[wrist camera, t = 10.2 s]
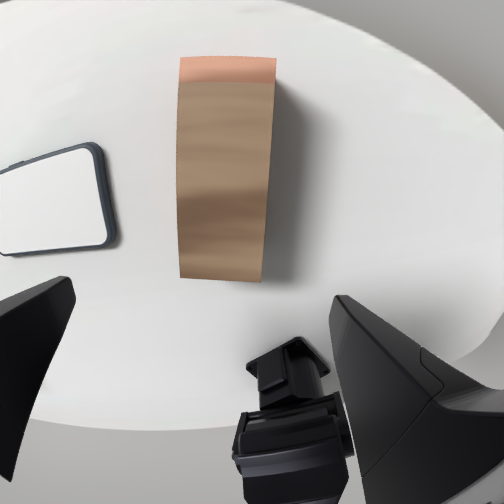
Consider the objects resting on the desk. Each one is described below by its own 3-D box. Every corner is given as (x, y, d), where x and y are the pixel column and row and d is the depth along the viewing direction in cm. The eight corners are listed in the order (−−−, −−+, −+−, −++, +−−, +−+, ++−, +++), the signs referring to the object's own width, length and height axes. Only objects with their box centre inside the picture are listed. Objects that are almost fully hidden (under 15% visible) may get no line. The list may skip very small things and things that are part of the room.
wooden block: (260, 282, 18) (276, 58, 12) (180, 277, 18) (180, 57, 12) (258, 248, 22) (270, 74, 17) (194, 245, 22) (197, 72, 17)
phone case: (105, 136, 19) (-12, 175, 19) (95, 138, 18) (-22, 179, 18) (122, 240, 23) (7, 252, 23) (115, 248, 21) (-2, 258, 21)
